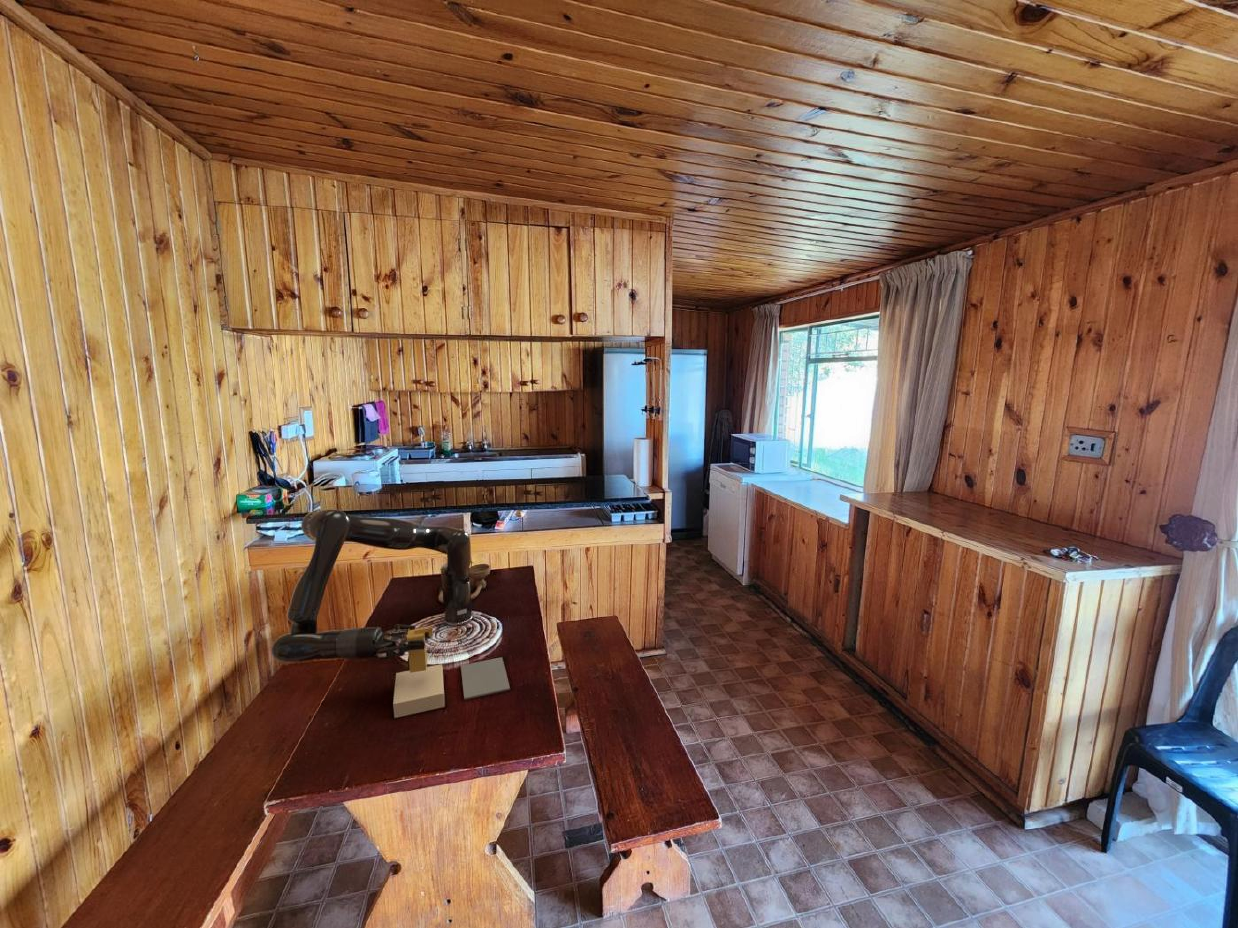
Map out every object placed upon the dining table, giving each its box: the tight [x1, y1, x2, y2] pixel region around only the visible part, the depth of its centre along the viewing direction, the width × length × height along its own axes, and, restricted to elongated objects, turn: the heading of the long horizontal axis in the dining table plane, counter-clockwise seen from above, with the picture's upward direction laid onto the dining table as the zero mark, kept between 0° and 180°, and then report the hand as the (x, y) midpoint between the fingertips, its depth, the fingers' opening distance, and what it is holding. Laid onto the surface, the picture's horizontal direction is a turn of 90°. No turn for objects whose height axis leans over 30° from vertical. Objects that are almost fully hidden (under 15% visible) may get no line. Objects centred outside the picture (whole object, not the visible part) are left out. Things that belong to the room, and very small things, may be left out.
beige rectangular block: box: [392, 663, 446, 719], centre depth 135 cm, size 14×12×4 cm
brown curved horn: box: [437, 563, 491, 604], centre depth 197 cm, size 24×9×19 cm
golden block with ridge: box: [407, 625, 434, 673], centre depth 133 cm, size 4×6×11 cm, turn 107°
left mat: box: [460, 657, 511, 701], centre depth 143 cm, size 16×12×1 cm
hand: (427, 638), depth 133 cm, fingers closed on golden block with ridge, 4 cm apart
